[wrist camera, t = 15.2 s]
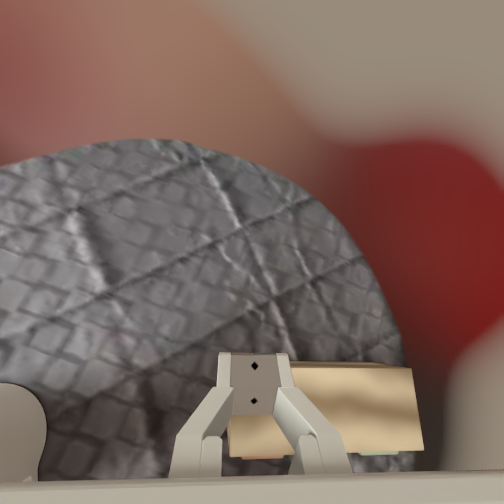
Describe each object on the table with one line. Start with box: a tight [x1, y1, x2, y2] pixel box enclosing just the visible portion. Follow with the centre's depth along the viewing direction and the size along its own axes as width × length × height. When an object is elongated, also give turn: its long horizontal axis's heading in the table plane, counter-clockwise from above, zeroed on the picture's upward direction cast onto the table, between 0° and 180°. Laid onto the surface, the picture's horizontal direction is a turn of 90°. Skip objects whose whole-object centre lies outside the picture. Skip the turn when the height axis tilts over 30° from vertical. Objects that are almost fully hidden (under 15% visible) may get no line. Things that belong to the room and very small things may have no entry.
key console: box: [227, 361, 424, 457], centre depth 36 cm, size 9×23×10 cm, turn 89°
